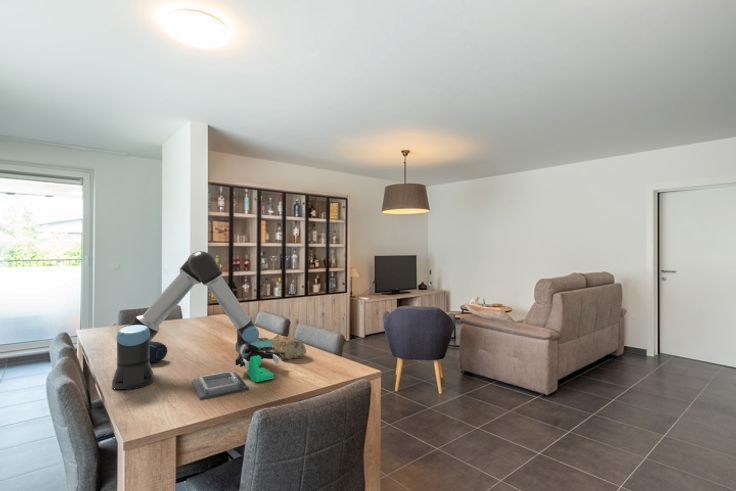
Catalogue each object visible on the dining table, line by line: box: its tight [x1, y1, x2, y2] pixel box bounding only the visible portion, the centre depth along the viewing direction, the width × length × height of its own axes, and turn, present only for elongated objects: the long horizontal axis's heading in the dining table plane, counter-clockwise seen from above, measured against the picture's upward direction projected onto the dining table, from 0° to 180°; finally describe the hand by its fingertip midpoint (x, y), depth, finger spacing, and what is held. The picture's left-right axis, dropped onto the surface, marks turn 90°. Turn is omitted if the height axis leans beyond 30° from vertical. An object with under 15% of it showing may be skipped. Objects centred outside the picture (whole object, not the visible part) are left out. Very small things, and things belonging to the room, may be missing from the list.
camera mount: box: [246, 355, 275, 383], centre depth 164 cm, size 12×8×10 cm, turn 37°
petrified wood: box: [271, 334, 307, 360], centre depth 199 cm, size 19×13×10 cm
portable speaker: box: [149, 340, 168, 363], centre depth 190 cm, size 25×10×10 cm, turn 73°
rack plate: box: [191, 370, 249, 400], centre depth 155 cm, size 18×22×2 cm
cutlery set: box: [252, 337, 273, 350], centre depth 222 cm, size 20×30×2 cm, turn 35°
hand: (263, 363), depth 166 cm, fingers open, 13 cm apart
